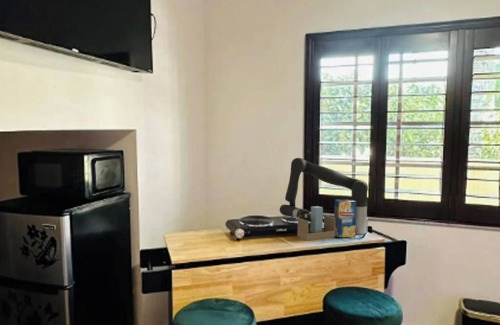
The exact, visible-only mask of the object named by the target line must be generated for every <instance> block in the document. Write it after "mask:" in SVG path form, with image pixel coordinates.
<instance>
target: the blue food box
mask: <svg viewBox="0 0 500 325" xmlns="http://www.w3.org/2000/svg"><path fill="white" fill-rule="evenodd" d="M333 214H334V217H333V218H335V237H337V238H356V234H355V226H356V201H354V200H352V199H334V213H333Z"/></svg>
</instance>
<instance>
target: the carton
mask: <svg viewBox="0 0 500 325" xmlns="http://www.w3.org/2000/svg"><path fill="white" fill-rule="evenodd" d="M323 227H324V228H322V232H319V233H310V228H309V222H308V221H307V220H304V219H301V218H298V220H297V232H296V233H297V238H300V239H301V240H304V241H306V242H310V241H316V240H325V239H333V238H336V235H335V218H334V217H331V216H329V215H324V214H323Z"/></svg>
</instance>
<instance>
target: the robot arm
mask: <svg viewBox="0 0 500 325" xmlns="http://www.w3.org/2000/svg"><path fill="white" fill-rule="evenodd" d="M301 173H304V174H307V175H311V176H313V177H314V178H316V179H317V180H320V181H321V182H323V183H326V184H329V185H332V186H333V185H334V186H337V187H341V188H342V187H343V188H346V189H349V190H350V191H351V200H354V201H356V226H355V235H366V234H367V233H368V225H369V224H368V223H369V222H368V221H369V219H368V213H367V212H368V190H369V186H368V183H367V182H366V181H365V180H363V179H358V178H354V177H351V176H347V175H346V174H343V173H341V172H340V171H336V170H335V169H332V168H329V167H325V166H321V165H318V164H314V163H312V162H310V161H308V160H305V159H304V158H301V157H295V158H293V159H292V160H291V163H290V173H289V180H288V185H287V188H286V193H285V195H284V196H285V197H284V199H285V201H286V202H288V204H281V205H280V207H279V213H280V214H281V215H283V216H286V217H290V216H291V217H290V218H293V217H294V218H293V219H295V218H296V219H295V220H297V219H298V218H301V219H304V220H307V221H308V223H311V212H310V211H309V210H307V209H304V208H301V207H296V201H297V200H296V198H297V195H298V189H299V181H300V177H301V176H300V175H301Z"/></svg>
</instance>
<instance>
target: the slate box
mask: <svg viewBox="0 0 500 325" xmlns="http://www.w3.org/2000/svg"><path fill="white" fill-rule="evenodd" d="M310 213H311V222H310V228H309V229H310V233H319V232H322V227H323V224H324V214H323V213H324V207H323V206H319V205H316V206H310Z"/></svg>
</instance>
